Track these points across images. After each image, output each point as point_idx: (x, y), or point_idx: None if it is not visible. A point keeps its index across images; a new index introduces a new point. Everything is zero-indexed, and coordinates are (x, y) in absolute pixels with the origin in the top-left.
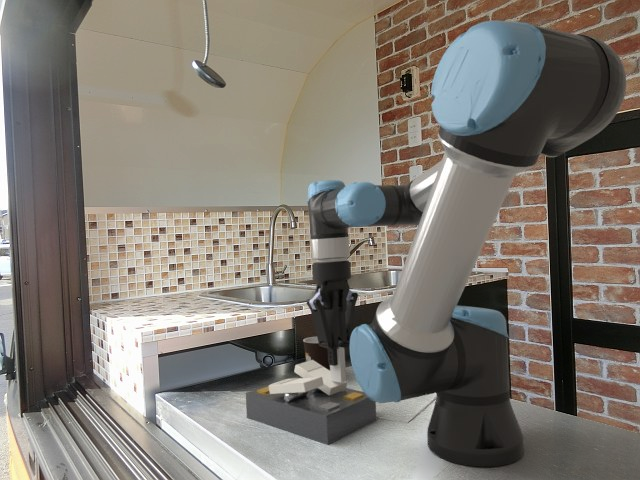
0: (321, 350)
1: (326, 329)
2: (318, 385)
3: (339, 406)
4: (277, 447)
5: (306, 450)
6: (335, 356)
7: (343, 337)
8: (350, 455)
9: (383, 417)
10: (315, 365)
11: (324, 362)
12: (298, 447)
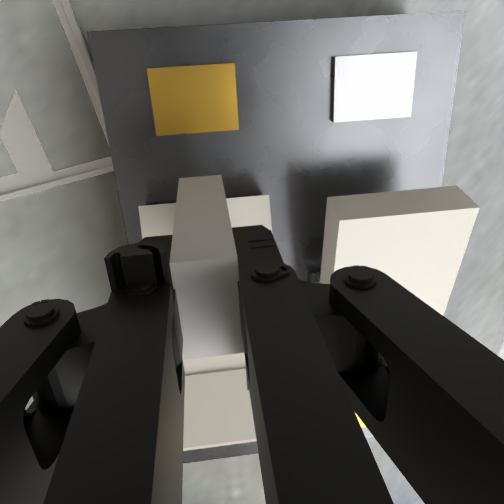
0: None
1: (483, 377)
2: (367, 196)
3: (338, 54)
4: (498, 141)
5: (476, 47)
6: (252, 252)
7: (155, 321)
8: None
9: (71, 25)
10: (197, 396)
11: None
12: (469, 88)
